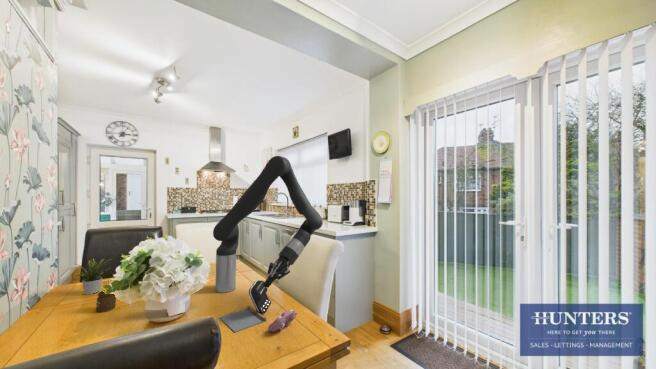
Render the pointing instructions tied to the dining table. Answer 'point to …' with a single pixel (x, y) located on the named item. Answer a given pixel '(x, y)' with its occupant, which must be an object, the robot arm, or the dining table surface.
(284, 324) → the purple lumpy piece
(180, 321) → the dining table surface
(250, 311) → the strip
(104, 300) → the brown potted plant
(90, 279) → the house plant
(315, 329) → the dining table surface
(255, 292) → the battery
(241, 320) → the mat
